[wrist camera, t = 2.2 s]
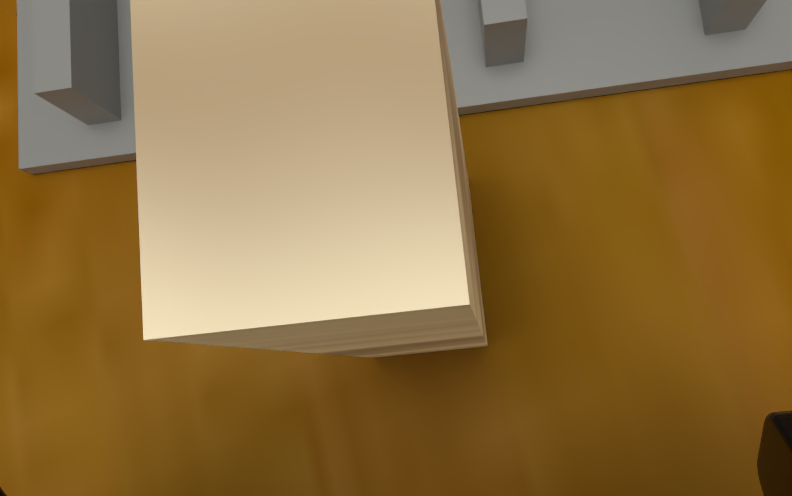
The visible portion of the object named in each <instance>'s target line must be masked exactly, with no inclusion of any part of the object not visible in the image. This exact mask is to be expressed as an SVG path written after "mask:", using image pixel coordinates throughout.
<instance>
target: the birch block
mask: <svg viewBox="0 0 792 496" xmlns="http://www.w3.org/2000/svg"><path fill="white" fill-rule="evenodd" d="M130 11H131V36H132V61H133V87H134V112H135V137H136V162H137V187H138V212H139V238H140V263H141V288H142V313H143V338H144V340H150V341H163V342H176V343H189V344H202V345H215V346H228V347H240V348H253V349H266V350H279V351H292V352H305V353H318V354H330V355H343V356H356V357H369V358H377V357H386V356H396V355H406V354H416V353H425V352H435V351H445V350H455V349H465V348H474V347H484V346H488V342H487V334H486V325H485V317H484V308H483V300H482V291H481V283H480V274H479V266H478V257H477V249H476V240H475V232H474V223H473V215H472V206H471V198H470V189H469V181H468V173H467V167H466V160H465V154H464V147H463V141H462V134H461V128H460V121H459V115H458V108H457V102H456V95H455V89H454V82H453V76H452V69H451V63H450V56H449V50H448V43H447V37H446V30H445V24H444V17H443V11H442V4H441V0H130Z"/></svg>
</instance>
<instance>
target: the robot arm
mask: <svg viewBox="0 0 792 496" xmlns="http://www.w3.org/2000/svg"><path fill="white" fill-rule="evenodd" d="M757 468H758V476H759V480H760V484H761V487H762V491H763V494H764V496H792V411H781V412H773V413H770V414H769V415H768V416H767V417H766V419H765V422H764V426H763V432H762V437H761V443H760V448H759V454H758V460H757ZM0 496H7V495H6V494H5V493H4V491H3V490H2V489H1V487H0Z"/></svg>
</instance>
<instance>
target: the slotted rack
mask: <svg viewBox="0 0 792 496" xmlns="http://www.w3.org/2000/svg"><path fill="white" fill-rule="evenodd" d="M441 4H442V11H443V17H444V24H445V30H446V37H447V43H448V50H449V56H450V63H451V69H452V76H453V82H454V89H455V95H456V102H457V108H458V115H464V114H471V113H478V112H486V111H493V110H500V109H507V108H515V107H522V106H529V105H536V104H543V103H551V102H558V101H565V100H572V99H579V98H587V97H594V96H601V95H608V94H616V93H623V92H630V91H637V90H644V89H652V88H659V87H666V86H673V85H680V84H688V83H695V82H702V81H709V80H717V79H724V78H731V77H738V76H745V75H753V74H760V73H767V72H774V71H782V70H789V69H792V0H441ZM17 50H18V134H19V169H20V170H22V171H25V172H27V173H30V174H38V173H45V172H53V171H60V170H67V169H74V168H82V167H89V166H96V165H103V164H110V163H118V162H125V161H132V160H136V137H135V112H134V87H133V61H132V36H131V11H130V0H17Z"/></svg>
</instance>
